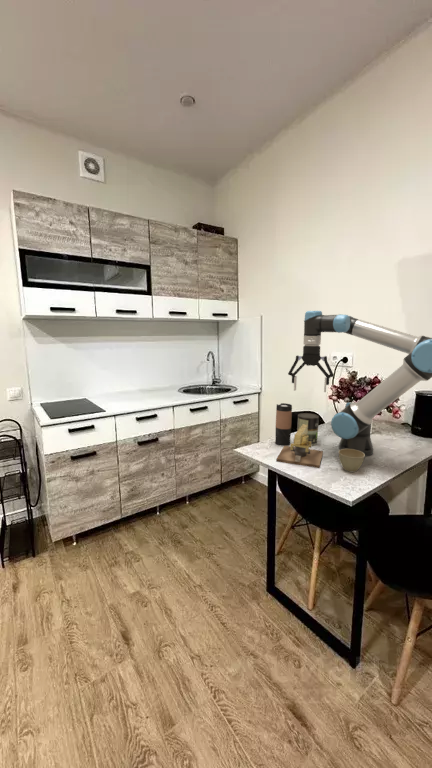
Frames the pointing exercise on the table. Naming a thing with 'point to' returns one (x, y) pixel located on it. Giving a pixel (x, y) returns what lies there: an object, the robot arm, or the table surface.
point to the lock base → (304, 460)
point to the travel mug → (283, 424)
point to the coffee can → (309, 425)
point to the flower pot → (351, 459)
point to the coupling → (301, 439)
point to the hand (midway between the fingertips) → (309, 391)
